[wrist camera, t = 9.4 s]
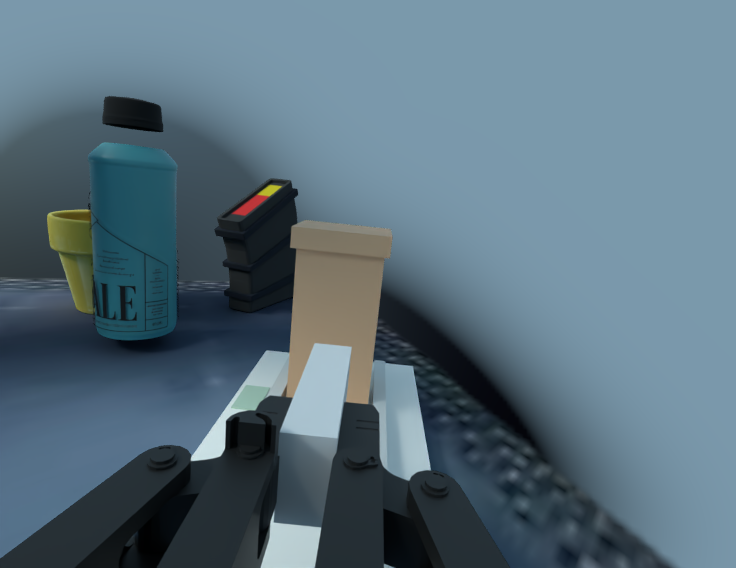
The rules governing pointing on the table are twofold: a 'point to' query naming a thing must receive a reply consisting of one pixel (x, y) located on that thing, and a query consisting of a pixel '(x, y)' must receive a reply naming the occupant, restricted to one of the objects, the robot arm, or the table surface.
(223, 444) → the switch panel
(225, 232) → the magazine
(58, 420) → the table surface
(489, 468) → the table surface
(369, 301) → the switch tab
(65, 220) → the plant pot
